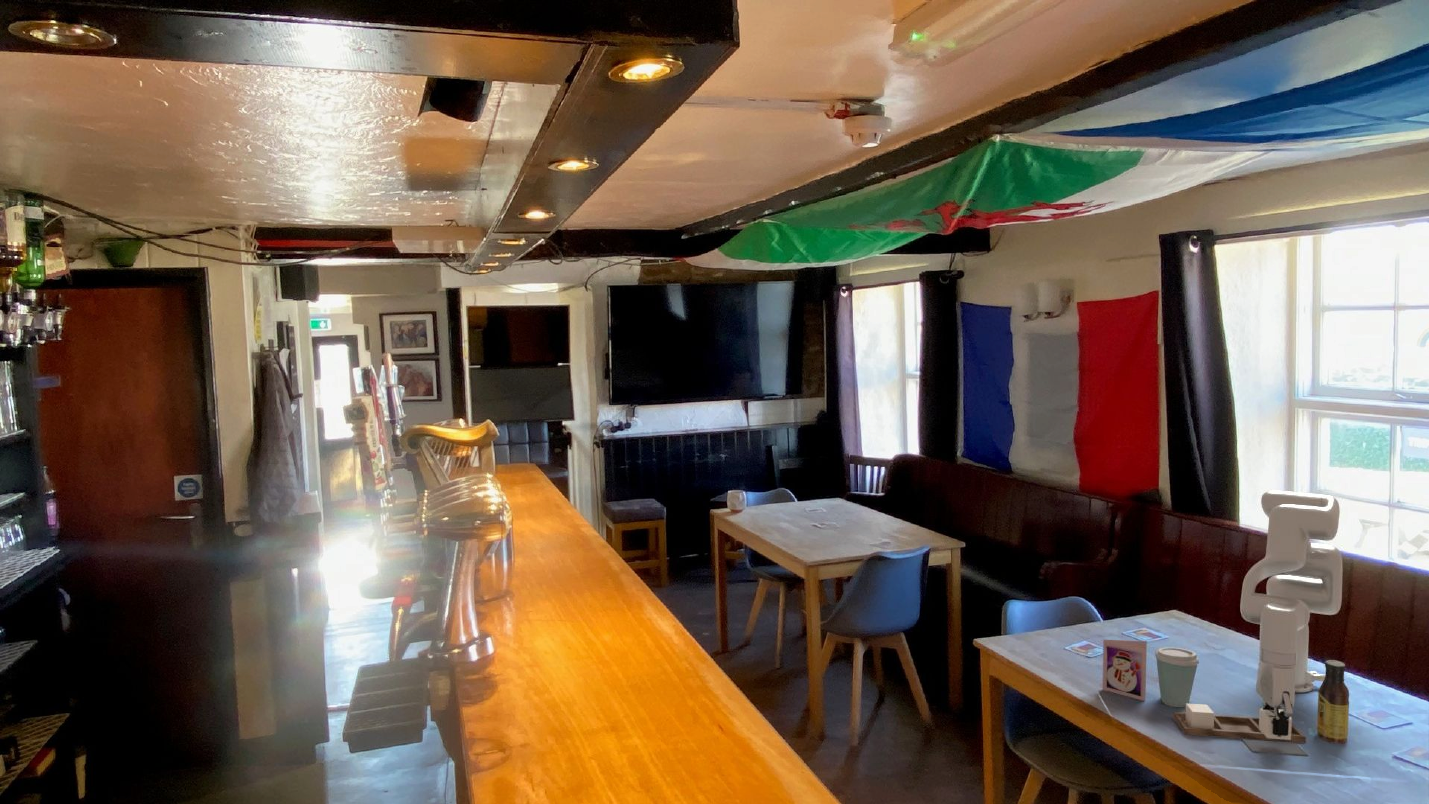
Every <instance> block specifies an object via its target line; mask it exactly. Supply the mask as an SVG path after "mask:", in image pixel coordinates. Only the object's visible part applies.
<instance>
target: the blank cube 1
mask: <svg viewBox="0 0 1429 804" xmlns="http://www.w3.org/2000/svg"><path fill="white" fill-rule="evenodd" d="M1185 713H1186V720H1185V722H1186V723H1187V725H1188V726H1189V727H1190V728H1205V729H1214V715H1215V713H1214V711H1213V710H1212V709H1211V707H1210V706H1209V705H1208V704H1205V703H1204V704H1203V703H1201V704H1200V703H1189V704H1188V703H1186V706H1185Z"/></svg>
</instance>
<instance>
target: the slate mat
mask: <svg viewBox="0 0 1429 804" xmlns="http://www.w3.org/2000/svg"><path fill="white" fill-rule="evenodd" d="M1241 741H1242V742H1243V743H1244V744H1245V746H1246V747H1247V748H1248V749H1249V750H1250V751H1251V753H1255V754H1256V753H1259V754H1260V753H1261V754H1271V755H1286V756H1299V757H1300V756H1301V757H1308V756H1309V754H1308V753H1307V752H1305V750H1304V749H1303V748H1302V747H1301V746H1300V745H1299V744H1298V742H1285V741H1271V740H1257V739H1243V738H1241Z"/></svg>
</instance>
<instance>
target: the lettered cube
mask: <svg viewBox="0 0 1429 804" xmlns="http://www.w3.org/2000/svg"><path fill="white" fill-rule="evenodd" d="M1280 712H1281V711H1279V713H1280ZM1258 718H1259V730H1260V731H1261V732H1262V733H1263V734H1264V735H1265V736H1266V737H1267V738H1271V739H1285V740H1291V719H1290V720H1289V729H1288V736H1281V735H1274V734H1273V718H1275V713H1274V710H1264V709H1261V708H1259V717H1258Z"/></svg>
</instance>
